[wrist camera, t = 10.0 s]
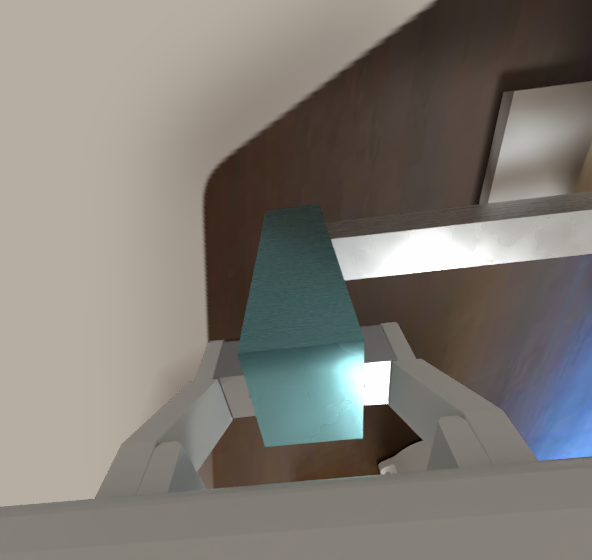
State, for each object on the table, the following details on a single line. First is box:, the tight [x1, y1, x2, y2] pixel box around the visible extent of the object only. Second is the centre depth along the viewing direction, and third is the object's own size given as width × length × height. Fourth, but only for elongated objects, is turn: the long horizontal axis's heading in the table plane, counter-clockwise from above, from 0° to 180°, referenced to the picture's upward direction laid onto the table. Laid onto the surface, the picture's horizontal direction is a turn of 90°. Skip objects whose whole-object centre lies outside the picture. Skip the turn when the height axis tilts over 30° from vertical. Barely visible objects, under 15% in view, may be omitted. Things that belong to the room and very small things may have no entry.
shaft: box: [237, 191, 592, 447], centre depth 12 cm, size 4×27×11 cm, turn 96°
